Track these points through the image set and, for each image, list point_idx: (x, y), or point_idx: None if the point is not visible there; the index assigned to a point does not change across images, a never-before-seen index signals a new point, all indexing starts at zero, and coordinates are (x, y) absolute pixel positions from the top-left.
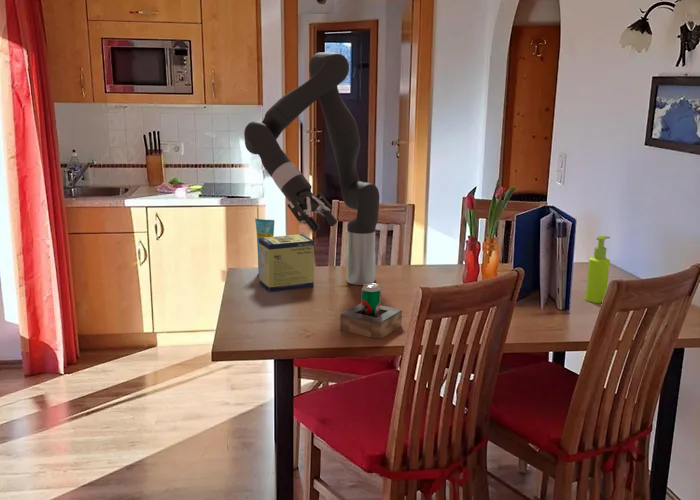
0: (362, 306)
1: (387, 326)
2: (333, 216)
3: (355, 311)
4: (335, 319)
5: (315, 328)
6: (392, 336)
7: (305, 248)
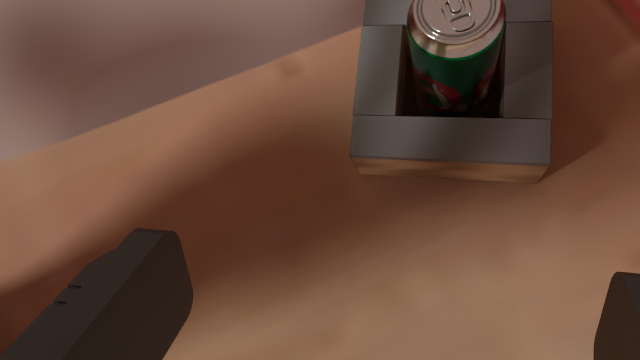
0: (489, 77)
1: None
2: (50, 306)
3: (483, 124)
4: (431, 260)
5: (577, 283)
6: None
7: None
